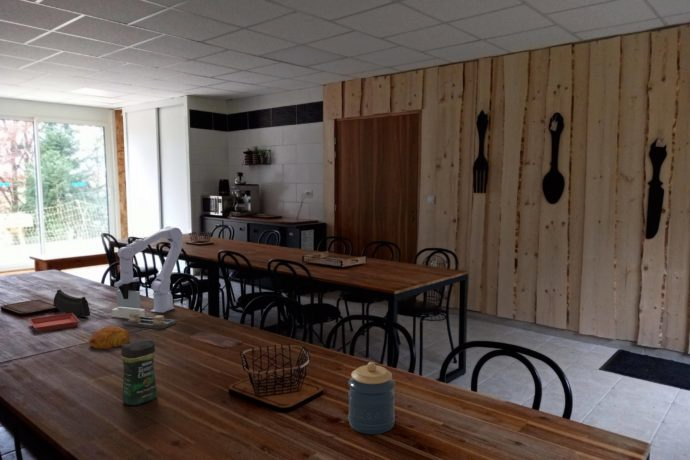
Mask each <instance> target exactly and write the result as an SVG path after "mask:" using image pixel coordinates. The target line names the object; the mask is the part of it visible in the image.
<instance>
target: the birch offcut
mask: <svg viewBox="0 0 690 460" xmlns="http://www.w3.org/2000/svg"><path fill="white" fill-rule="evenodd" d="M152 318H153V323H161V322H163V321H164V319H165V316H164V315H155V316H153V317H152Z"/></svg>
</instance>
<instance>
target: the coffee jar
mask: <svg viewBox="0 0 690 460" xmlns="http://www.w3.org/2000/svg"><path fill="white" fill-rule="evenodd" d="M155 355H156V347H155V342H154V341H153V340H151V339H149V338H144V339H141V340H138V341H137V340H136V341H133V342H128V343H127V344H124V345H122V346H121V351H120V358H121V361H122V365H123V377H122V378H123V382H122V394H121V395H122V396H121V397H122V402H123V403H124V404H125V405H128V406H138V405H142V404H143V403H146V402H150V401H152V400H154V399H156V397H157V396H158V390H157V383H156V382H157V381H156V377H155V367H154V360H155Z"/></svg>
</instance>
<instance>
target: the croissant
mask: <svg viewBox="0 0 690 460" xmlns="http://www.w3.org/2000/svg"><path fill="white" fill-rule="evenodd" d="M130 339H131V336H130V333H129V332H128V330H127V329H125V328H123V327H121V326H114V325H113V326H112V325H108V326H105V327H101V329H99V330H97V331H96V332H95V333H93V334H92V335H91V337H90V338H89V339H88V343H89V345H90V346H91V347H93V348H95V349H97V350H98V349H99V350H100V349H101V350H102V349H104V350H105V349H106V350H107V349H108V350H110V349H114V348H118V347H122V345H124V344H128V343H130V342H129V341H130Z"/></svg>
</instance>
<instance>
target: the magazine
mask: <svg viewBox="0 0 690 460" xmlns="http://www.w3.org/2000/svg"><path fill="white" fill-rule="evenodd" d="M52 304H53V306H54V308H56V309H57V310H58V311H59V312H60V311H61V312H62V313H63V314H68V313H73V314H74V315H75V316H76V317H80V318H81V317H84V318H86V317H90V316H91V310H90V306H89V301H88V300H87V299H86V297H85V296H82V297H76V296H72V295H70V294H67V293H66V292H64V291H62V289H57V290H56V293H55V294H54V297H53V303H52Z"/></svg>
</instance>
